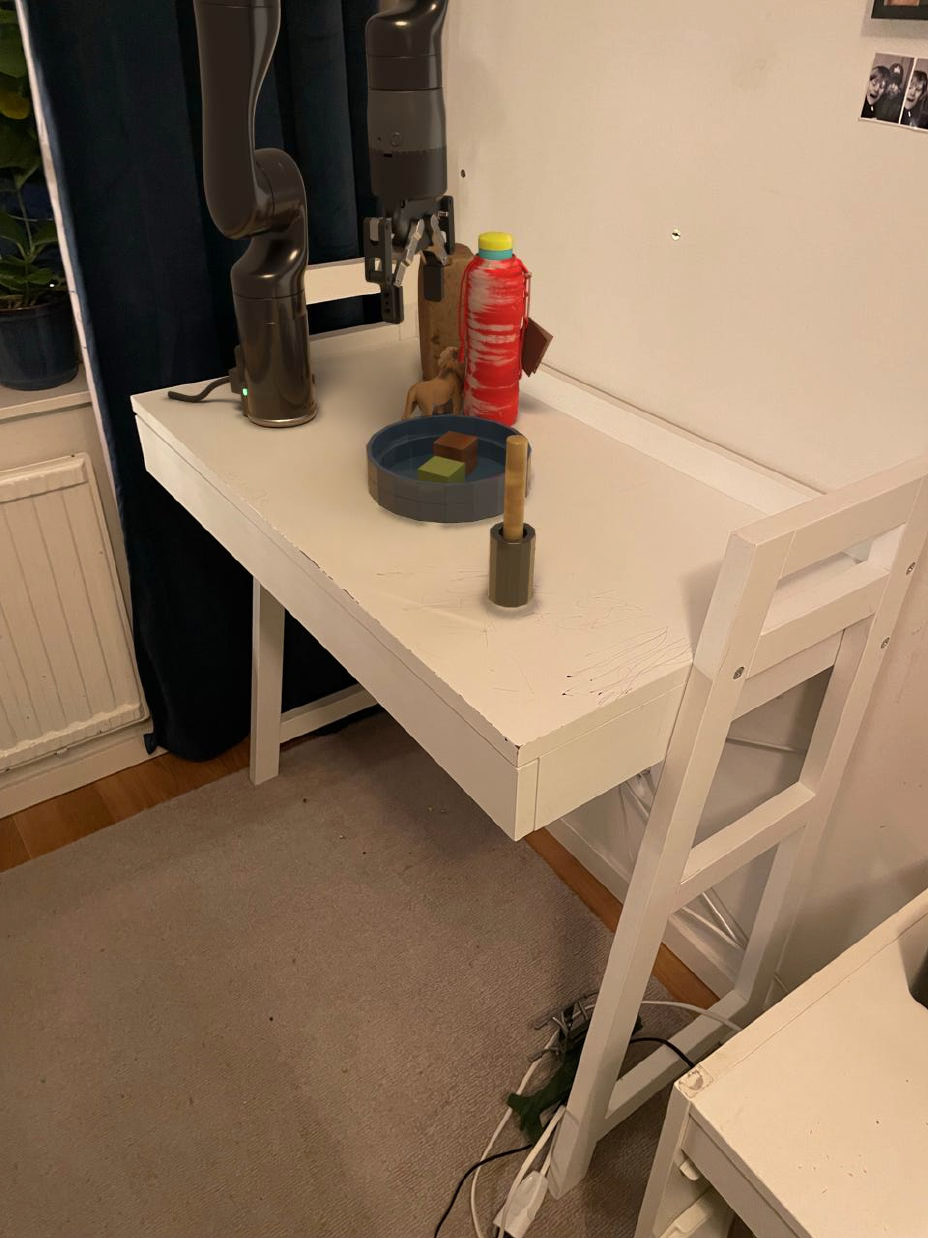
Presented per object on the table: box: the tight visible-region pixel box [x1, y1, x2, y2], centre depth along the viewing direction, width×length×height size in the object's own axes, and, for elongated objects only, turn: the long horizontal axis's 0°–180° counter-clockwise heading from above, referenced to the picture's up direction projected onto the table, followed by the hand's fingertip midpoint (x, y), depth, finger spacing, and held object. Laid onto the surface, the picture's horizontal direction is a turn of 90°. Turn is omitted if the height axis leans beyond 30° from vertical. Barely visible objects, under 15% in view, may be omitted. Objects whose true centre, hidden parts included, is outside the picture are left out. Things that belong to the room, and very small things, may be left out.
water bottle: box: [458, 231, 554, 427], centre depth 121 cm, size 12×8×25 cm, turn 101°
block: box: [417, 242, 475, 398], centre depth 133 cm, size 11×8×20 cm
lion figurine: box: [400, 347, 466, 421], centre depth 125 cm, size 15×5×9 cm, turn 153°
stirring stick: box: [502, 435, 529, 540], centre depth 88 cm, size 2×2×17 cm
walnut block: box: [433, 431, 478, 477], centre depth 114 cm, size 4×4×4 cm
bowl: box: [365, 413, 533, 524], centre depth 111 cm, size 19×19×6 cm
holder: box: [487, 521, 537, 609], centre depth 91 cm, size 4×4×8 cm
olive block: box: [418, 456, 465, 483], centre depth 108 cm, size 4×4×4 cm
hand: (414, 311), depth 99 cm, fingers open, 8 cm apart
